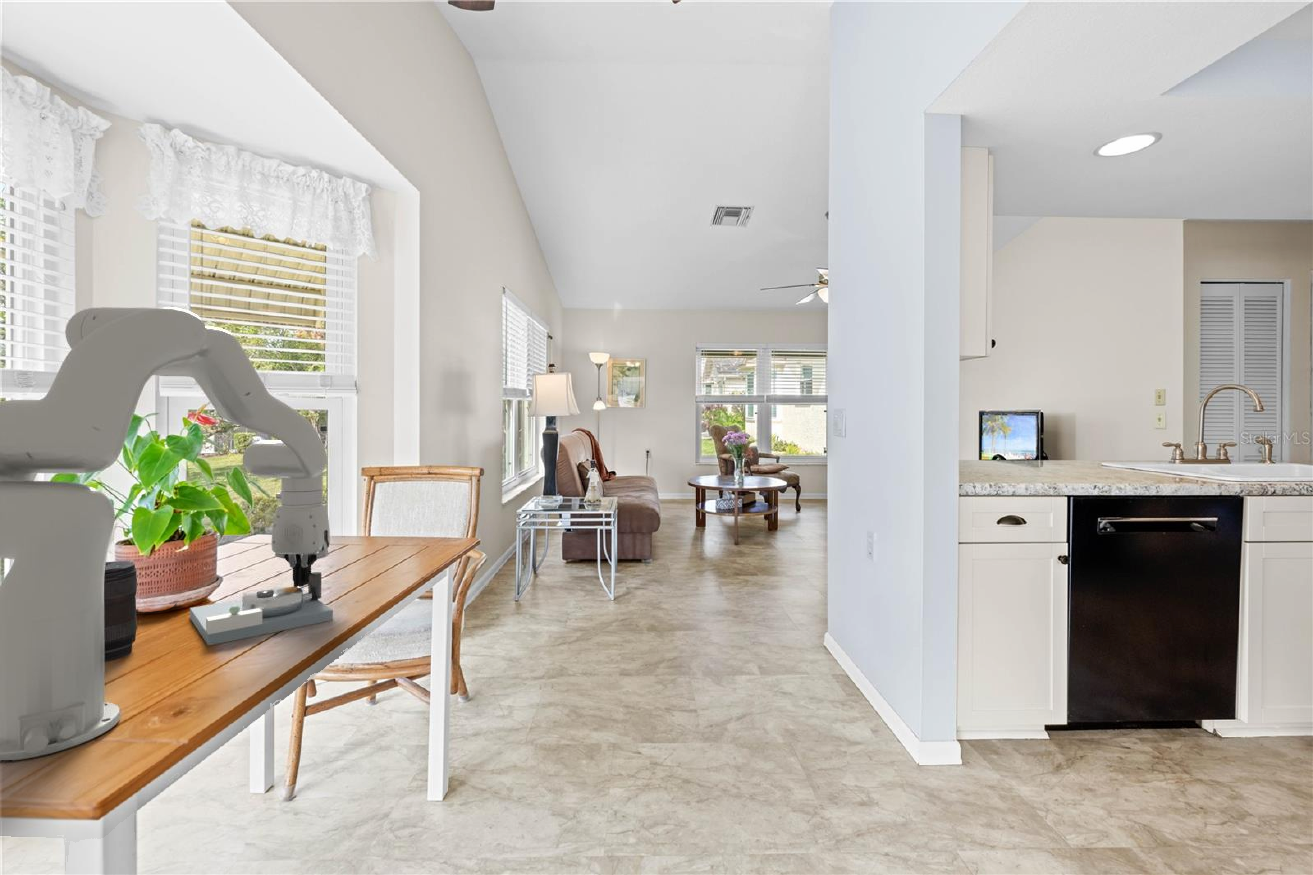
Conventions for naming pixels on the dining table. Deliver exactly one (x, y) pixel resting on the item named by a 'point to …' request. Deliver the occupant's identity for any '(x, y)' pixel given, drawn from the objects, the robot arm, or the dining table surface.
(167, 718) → the dining table surface
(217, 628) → the level board
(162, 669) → the dining table surface
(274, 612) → the dial
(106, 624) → the camera lens
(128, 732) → the dining table surface
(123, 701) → the dining table surface
